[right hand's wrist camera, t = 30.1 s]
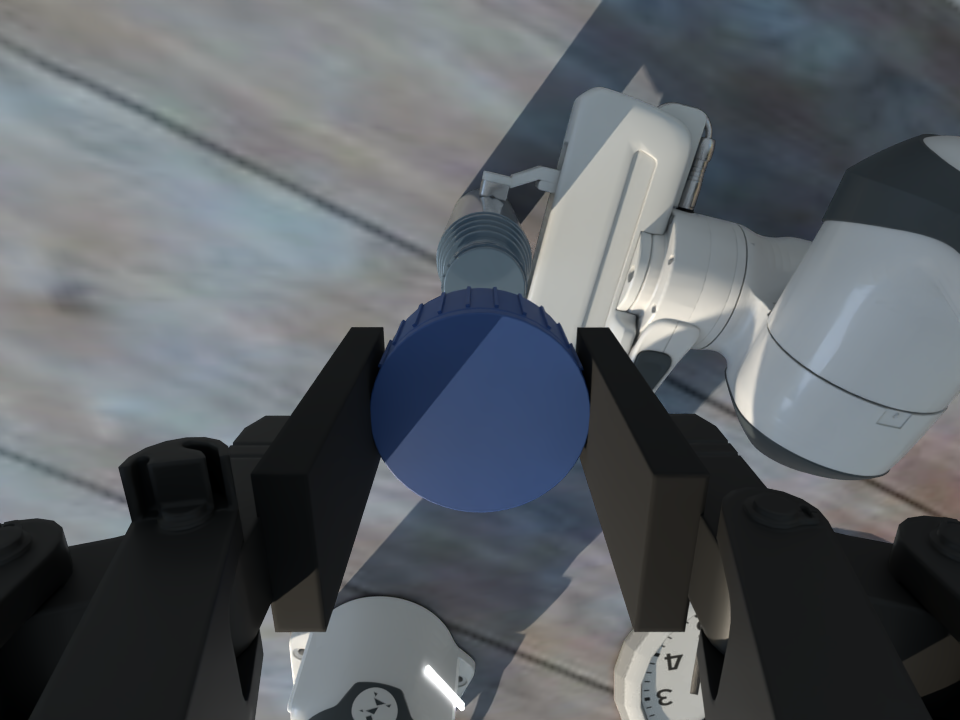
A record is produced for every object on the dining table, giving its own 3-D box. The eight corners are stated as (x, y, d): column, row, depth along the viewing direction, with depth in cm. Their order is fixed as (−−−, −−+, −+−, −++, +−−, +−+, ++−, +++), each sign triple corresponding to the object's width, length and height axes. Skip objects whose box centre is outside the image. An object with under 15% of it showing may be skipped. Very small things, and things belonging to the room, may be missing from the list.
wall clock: (929, 543, 52) (913, 769, 63) (916, 532, 54) (902, 754, 64) (597, 597, 55) (634, 807, 65) (594, 584, 56) (630, 792, 66)
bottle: (455, 183, 43) (431, 220, 23) (519, 192, 44) (553, 237, 23) (448, 248, 45) (420, 337, 25) (510, 256, 45) (533, 351, 25)
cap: (481, 498, 15) (482, 551, 13) (342, 382, 14) (319, 421, 12) (617, 378, 14) (640, 418, 12) (477, 241, 13) (477, 259, 11)
